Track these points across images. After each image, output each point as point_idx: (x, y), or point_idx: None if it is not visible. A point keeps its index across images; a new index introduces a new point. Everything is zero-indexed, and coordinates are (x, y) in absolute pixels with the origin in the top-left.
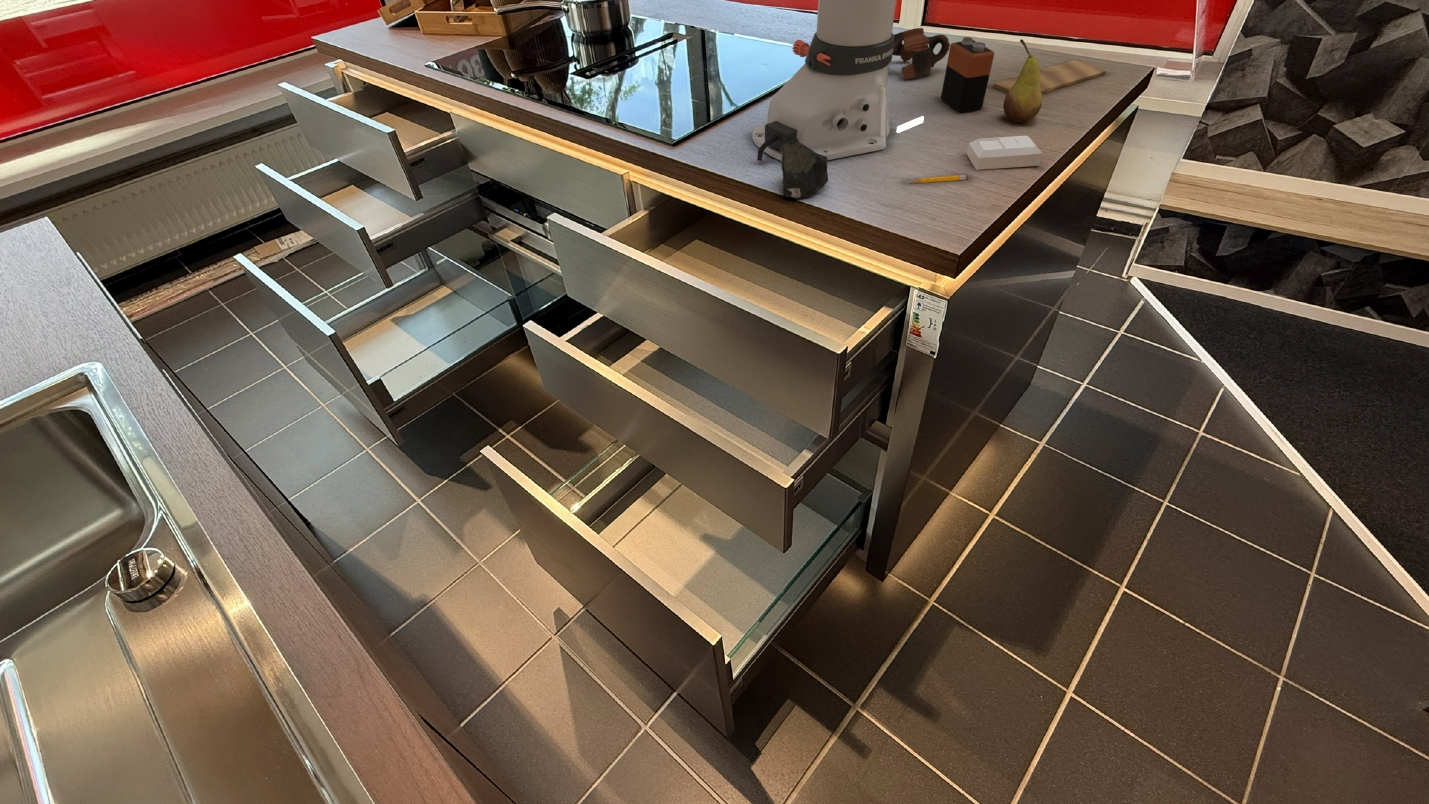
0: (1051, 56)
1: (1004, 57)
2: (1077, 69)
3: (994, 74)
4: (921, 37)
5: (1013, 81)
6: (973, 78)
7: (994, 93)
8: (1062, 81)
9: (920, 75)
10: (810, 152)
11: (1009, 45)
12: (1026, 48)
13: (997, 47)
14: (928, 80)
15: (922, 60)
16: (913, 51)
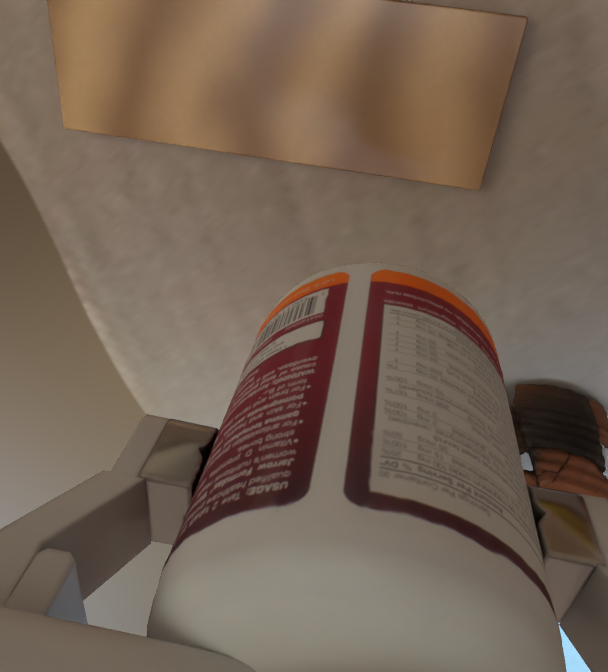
0: (84, 218)
1: (214, 315)
2: (124, 55)
3: (365, 254)
4: None
5: (412, 152)
6: None
7: (533, 145)
8: (275, 10)
9: (573, 392)
10: None
11: (125, 357)
12: None
13: (166, 371)
14: (559, 364)
15: (563, 429)
16: (597, 469)
